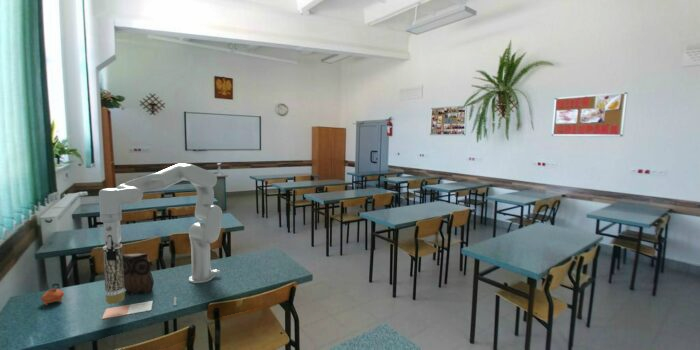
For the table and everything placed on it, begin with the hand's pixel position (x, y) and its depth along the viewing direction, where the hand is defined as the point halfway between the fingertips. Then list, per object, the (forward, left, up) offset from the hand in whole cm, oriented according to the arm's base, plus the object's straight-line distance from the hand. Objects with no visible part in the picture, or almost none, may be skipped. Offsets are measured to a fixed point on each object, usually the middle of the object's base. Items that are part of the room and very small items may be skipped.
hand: (113, 256), depth 143 cm
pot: (+27, -22, -26) cm, 43 cm away
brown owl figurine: (-8, -21, -26) cm, 34 cm away
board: (-10, 0, -26) cm, 27 cm away
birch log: (0, 0, -20) cm, 20 cm away
